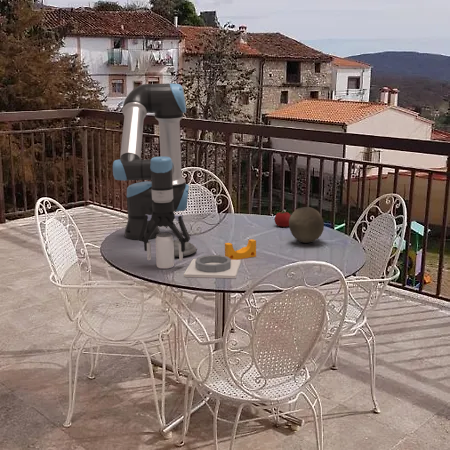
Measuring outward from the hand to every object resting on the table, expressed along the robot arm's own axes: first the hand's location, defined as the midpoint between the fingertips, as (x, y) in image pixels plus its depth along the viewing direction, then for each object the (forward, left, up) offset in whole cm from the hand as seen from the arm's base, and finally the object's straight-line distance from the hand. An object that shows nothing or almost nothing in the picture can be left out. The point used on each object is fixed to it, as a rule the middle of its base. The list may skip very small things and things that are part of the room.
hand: (165, 259), depth 213 cm
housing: (+18, -2, -3) cm, 18 cm away
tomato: (+41, +63, -3) cm, 75 cm away
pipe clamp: (+26, +14, -3) cm, 29 cm away
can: (0, 0, -3) cm, 3 cm away
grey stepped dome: (+1, +17, -3) cm, 17 cm away
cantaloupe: (+51, +35, -3) cm, 62 cm away
